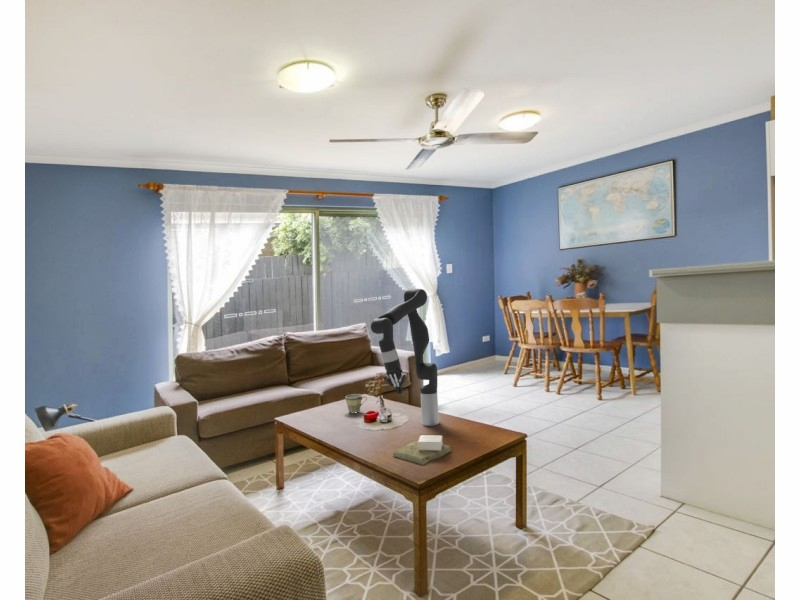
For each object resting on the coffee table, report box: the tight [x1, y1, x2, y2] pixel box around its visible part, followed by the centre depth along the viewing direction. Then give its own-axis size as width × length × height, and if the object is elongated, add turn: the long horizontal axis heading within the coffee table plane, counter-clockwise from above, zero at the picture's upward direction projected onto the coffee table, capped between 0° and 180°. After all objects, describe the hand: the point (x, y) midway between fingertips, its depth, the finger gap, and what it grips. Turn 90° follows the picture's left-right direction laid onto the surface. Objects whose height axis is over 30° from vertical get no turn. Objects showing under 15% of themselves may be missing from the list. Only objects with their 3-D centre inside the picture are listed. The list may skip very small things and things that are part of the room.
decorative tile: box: [392, 439, 452, 466], centre depth 199 cm, size 19×20×4 cm
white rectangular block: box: [418, 434, 444, 451], centre depth 198 cm, size 8×4×10 cm
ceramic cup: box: [345, 393, 368, 414], centre depth 270 cm, size 13×10×10 cm
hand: (400, 393), depth 210 cm, fingers closed
